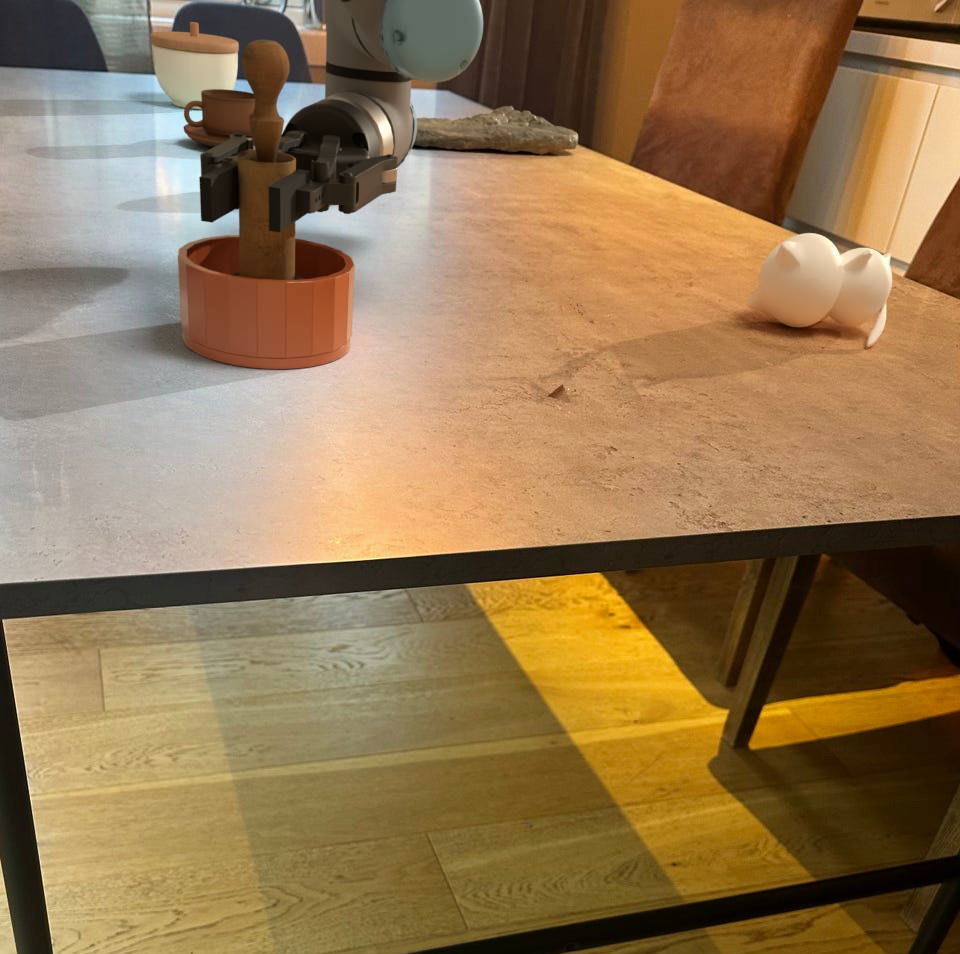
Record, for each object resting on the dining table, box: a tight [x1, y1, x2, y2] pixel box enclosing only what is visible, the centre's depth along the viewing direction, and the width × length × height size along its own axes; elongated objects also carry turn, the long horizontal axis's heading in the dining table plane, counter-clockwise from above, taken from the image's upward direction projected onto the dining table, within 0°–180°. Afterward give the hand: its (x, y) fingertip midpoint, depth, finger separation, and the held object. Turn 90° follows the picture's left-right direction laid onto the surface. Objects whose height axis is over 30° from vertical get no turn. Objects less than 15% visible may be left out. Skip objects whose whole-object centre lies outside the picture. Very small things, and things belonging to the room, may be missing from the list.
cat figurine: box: [746, 232, 893, 348], centre depth 95 cm, size 9×11×12 cm
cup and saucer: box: [183, 89, 255, 148], centre depth 139 cm, size 12×12×6 cm
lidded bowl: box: [149, 21, 240, 111], centre depth 161 cm, size 13×13×11 cm
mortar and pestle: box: [232, 39, 302, 280], centre depth 74 cm, size 7×6×18 cm
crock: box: [177, 234, 356, 370], centre depth 78 cm, size 12×12×6 cm
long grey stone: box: [413, 105, 579, 156], centre depth 157 cm, size 35×5×10 cm
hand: (240, 204), depth 70 cm, fingers closed on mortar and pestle, 4 cm apart
